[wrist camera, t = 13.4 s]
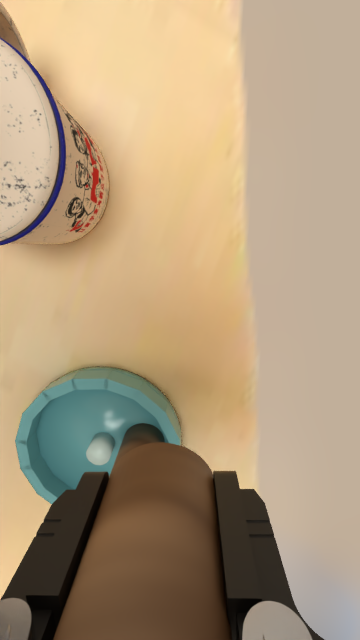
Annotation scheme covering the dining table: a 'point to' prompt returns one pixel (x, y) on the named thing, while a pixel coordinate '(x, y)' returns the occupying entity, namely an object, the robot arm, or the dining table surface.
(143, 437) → the walnut bead
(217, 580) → the walnut bead
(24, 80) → the teacup with lid
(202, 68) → the dining table surface
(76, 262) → the dining table surface
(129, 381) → the groove tray
